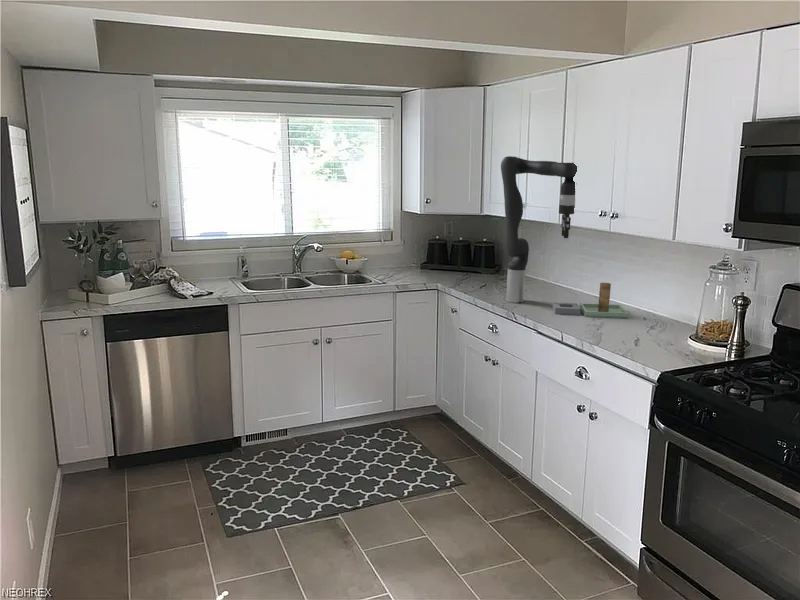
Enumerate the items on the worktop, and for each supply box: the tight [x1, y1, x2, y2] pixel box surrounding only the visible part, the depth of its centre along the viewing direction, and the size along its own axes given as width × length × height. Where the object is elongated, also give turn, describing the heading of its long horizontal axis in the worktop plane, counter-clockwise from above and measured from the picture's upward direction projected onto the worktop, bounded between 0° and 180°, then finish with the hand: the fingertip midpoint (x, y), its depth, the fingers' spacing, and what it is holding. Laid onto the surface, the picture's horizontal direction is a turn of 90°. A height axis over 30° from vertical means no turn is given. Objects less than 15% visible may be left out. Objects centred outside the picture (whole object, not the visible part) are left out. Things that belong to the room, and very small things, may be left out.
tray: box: [579, 302, 629, 319], centre depth 323 cm, size 18×20×2 cm
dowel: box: [597, 282, 612, 312], centre depth 322 cm, size 5×5×14 cm
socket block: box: [551, 302, 581, 316], centre depth 325 cm, size 12×12×3 cm
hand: (564, 237), depth 325 cm, fingers open, 8 cm apart
